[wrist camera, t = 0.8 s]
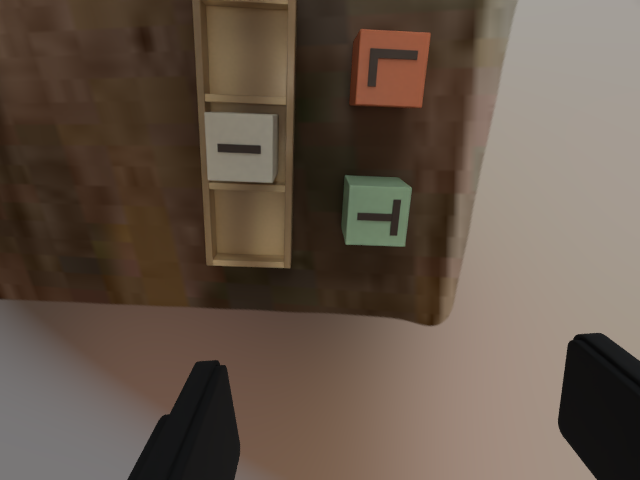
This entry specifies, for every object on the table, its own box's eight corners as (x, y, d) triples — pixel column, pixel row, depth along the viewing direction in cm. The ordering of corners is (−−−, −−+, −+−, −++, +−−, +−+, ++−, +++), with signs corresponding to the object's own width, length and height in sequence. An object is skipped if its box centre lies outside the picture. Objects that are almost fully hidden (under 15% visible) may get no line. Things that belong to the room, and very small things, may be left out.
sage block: (341, 227, 37) (345, 245, 32) (344, 175, 35) (349, 185, 30) (393, 229, 37) (405, 247, 32) (398, 177, 35) (412, 188, 30)
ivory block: (222, 170, 34) (206, 180, 29) (219, 111, 33) (203, 112, 28) (278, 173, 34) (272, 183, 29) (278, 114, 33) (272, 115, 28)
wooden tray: (212, 256, 37) (206, 265, 35) (199, -2, 30) (191, -11, 28) (291, 259, 38) (290, 268, 35) (297, 3, 31) (296, -5, 28)
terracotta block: (349, 105, 33) (355, 104, 28) (353, 41, 31) (360, 28, 27) (406, 108, 33) (422, 107, 28) (413, 44, 32) (432, 32, 27)
